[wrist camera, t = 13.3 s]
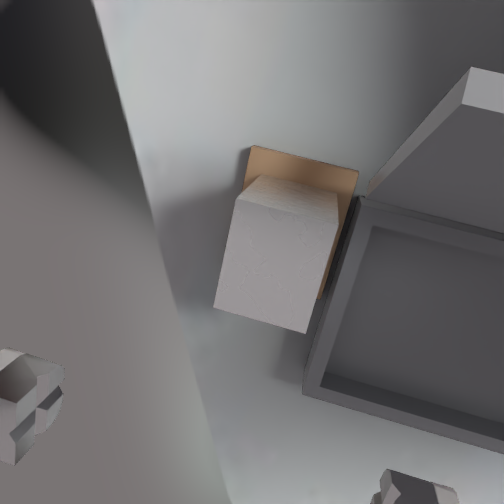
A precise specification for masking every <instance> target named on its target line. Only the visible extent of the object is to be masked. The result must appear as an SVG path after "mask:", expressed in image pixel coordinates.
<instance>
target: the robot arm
mask: <svg viewBox="0 0 504 504" xmlns="http://www.w3.org/2000/svg"><path fill="white" fill-rule="evenodd" d="M64 371H65V368H64V367H63V366H62V365H59V364H56V363H53V362H50V361H47V360H45V359H42V358H39V357H36V356H33V355H30V354H27V353H23V352H20V351H17V350H14V349H12V348H5V349H2V350H0V461H1V462H5V463H8V464H11V465H14V466H15V465H16V464H17V463H18V462H19V461H20V459H21V458H22V457H23V456H24V455H25V454H26V453H27V452H28V451H29V449H30V448H31V447H32V446H33V445H34V436H35V435H38V434H40V433H42V432H45V431H47V429H48V428H49V427H50V426H51V425H52V424H53V422H54V421H55V419H56V417H57V415H58V413H59V411H60V409H61V405H62V400H63V393H62V391H61V389H60V387H59V384H60V383H61V382H62V381H63V380H64V373H65V372H64ZM380 488H381V491H380V492H378V493H376V494H374V495H373V498H372V500H371V503H370V504H460V503H459V500H458V496H457V493H456V492H455V490H454V489H453V488H450V487H447V486H443V485H440V484H436V483H433V482H428V481H425V480H422V479H419V478H416V477H412V476H409V475H406V474H403V473H399V472H396V471H393V470H390V469H386V470H385V471H384V473H383V475H382V477H381V479H380Z"/></svg>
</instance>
